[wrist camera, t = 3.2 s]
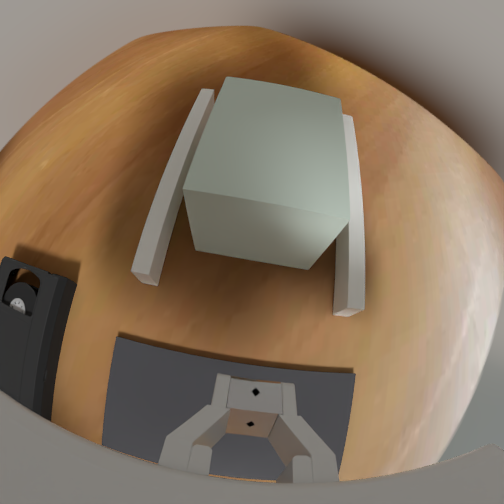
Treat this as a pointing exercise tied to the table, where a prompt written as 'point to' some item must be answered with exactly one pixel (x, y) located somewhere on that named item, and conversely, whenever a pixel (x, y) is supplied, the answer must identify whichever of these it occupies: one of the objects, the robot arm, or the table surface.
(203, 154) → the sage block
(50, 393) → the vhs tape
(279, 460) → the channel
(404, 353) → the table surface
